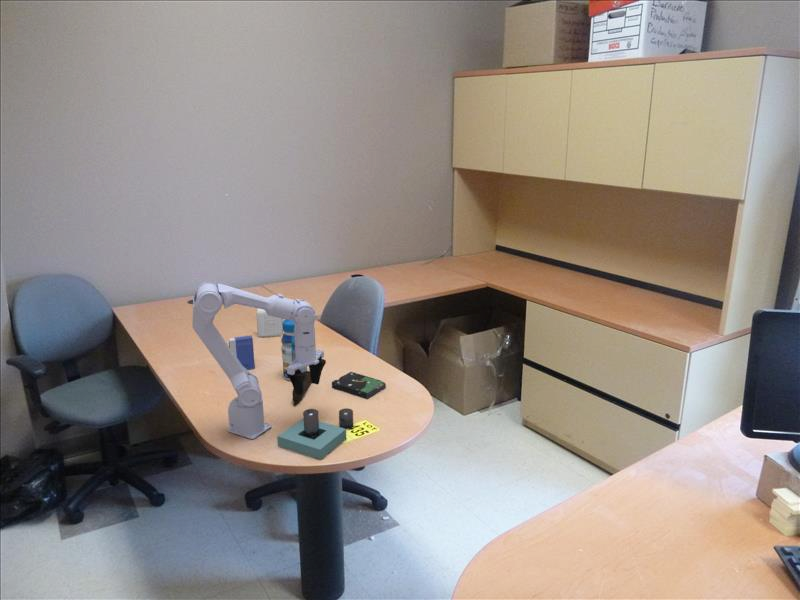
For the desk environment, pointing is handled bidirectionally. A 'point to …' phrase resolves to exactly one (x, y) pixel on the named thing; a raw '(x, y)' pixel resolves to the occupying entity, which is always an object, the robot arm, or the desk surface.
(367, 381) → the disk drive
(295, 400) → the hand tool
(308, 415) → the tall pin
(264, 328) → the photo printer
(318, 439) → the hole block
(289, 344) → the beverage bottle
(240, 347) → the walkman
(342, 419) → the short pin
